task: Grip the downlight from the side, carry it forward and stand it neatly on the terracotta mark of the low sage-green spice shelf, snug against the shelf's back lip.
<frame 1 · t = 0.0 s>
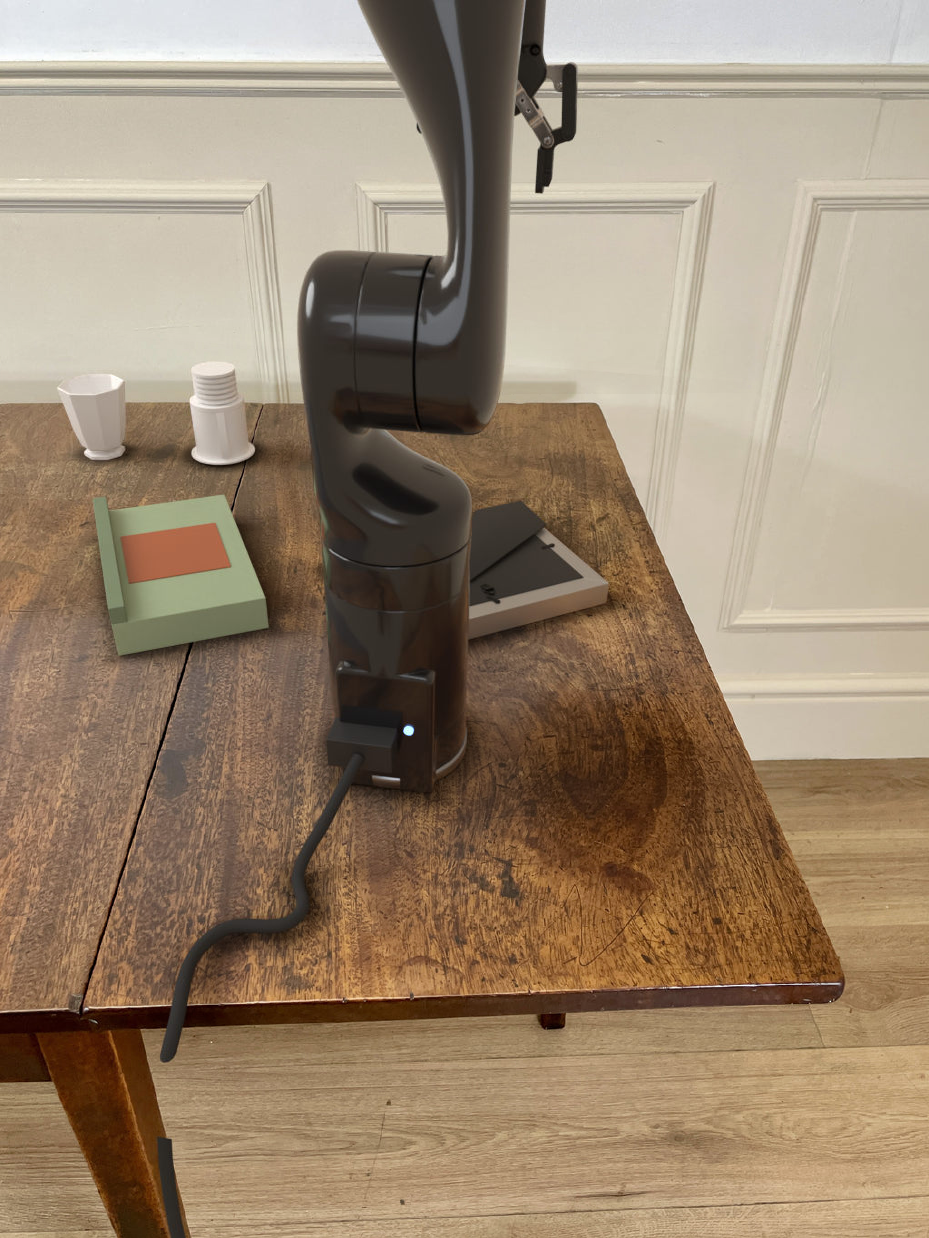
hand: (494, 189, 88), 29 cm above the table, tool pointing down, fingers open, 8 cm apart
spice shelf: (179, 581, 84), on the table
cup: (103, 449, 108), on the table
picture frame: (461, 587, 85), on the table
downlight: (224, 455, 107), on the table
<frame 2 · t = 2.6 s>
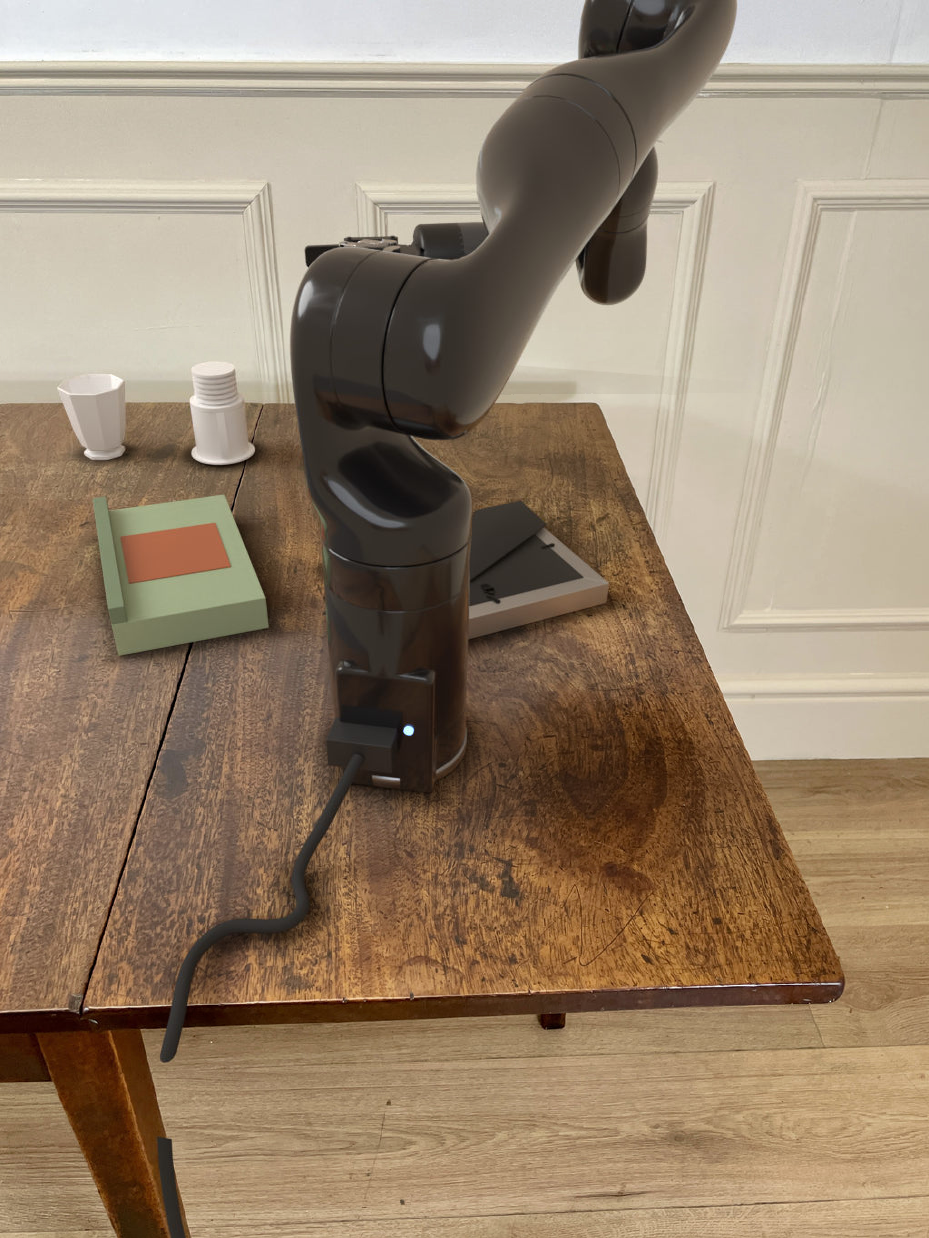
hand: (307, 267, 98), 20 cm above the table, tool horizontal, fingers open, 8 cm apart
nothing on the table moved.
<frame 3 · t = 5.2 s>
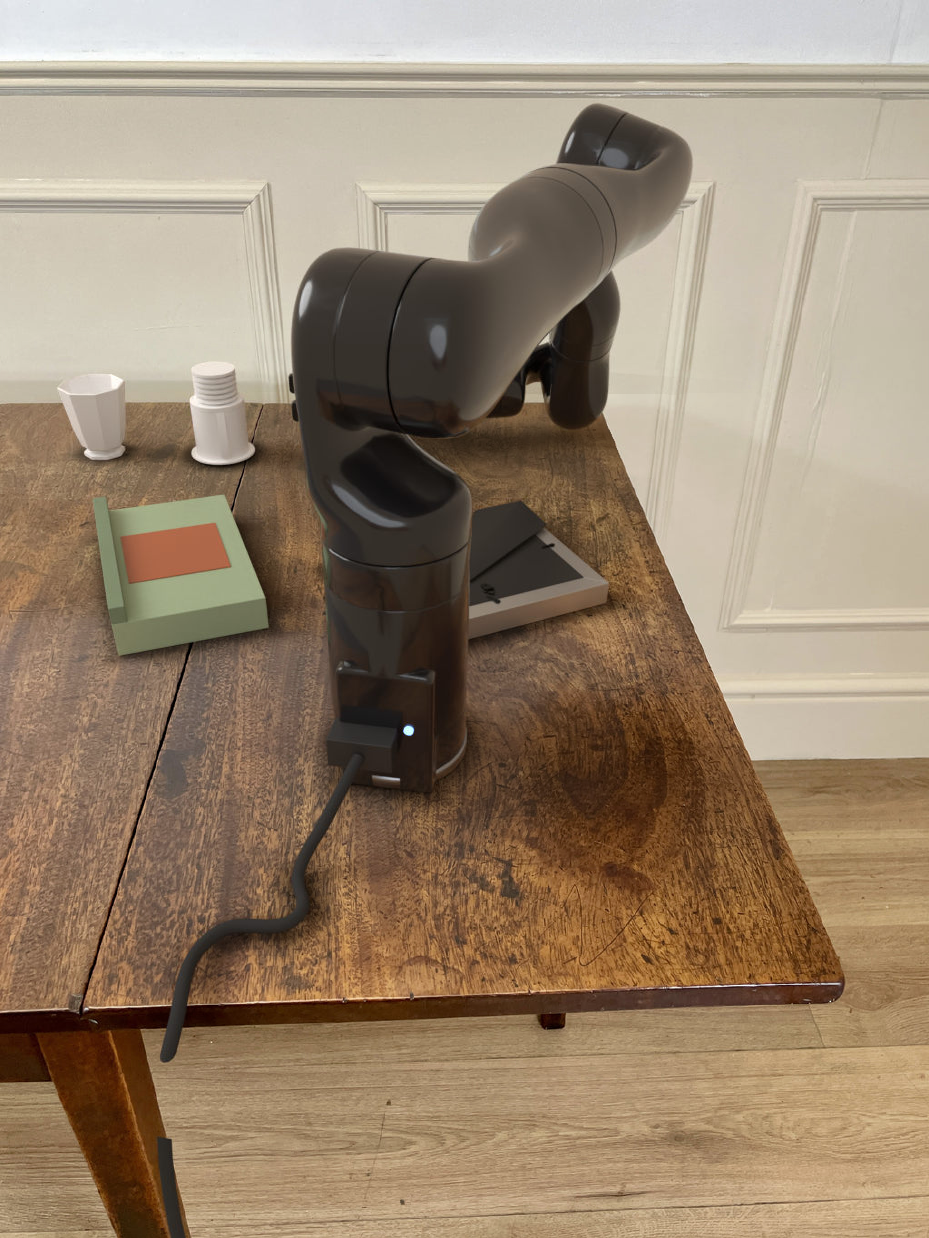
hand: (290, 397, 105), 6 cm above the table, tool horizontal, fingers open, 8 cm apart
nothing on the table moved.
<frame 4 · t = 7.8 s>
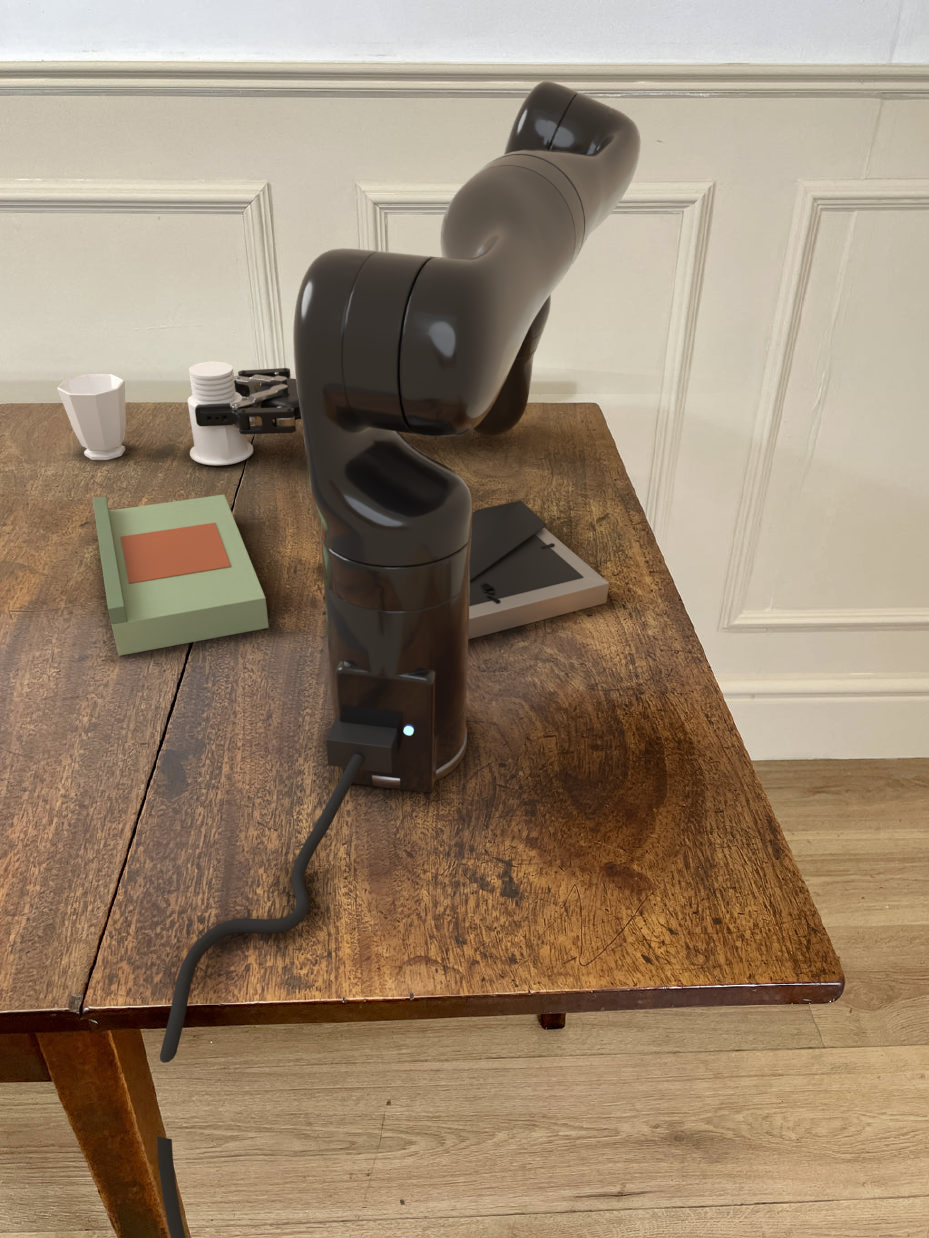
hand: (197, 403, 104), 6 cm above the table, tool horizontal, fingers closed on downlight, 7 cm apart
downlight: (222, 455, 107), on the table, touching gripper
everything else where it was.
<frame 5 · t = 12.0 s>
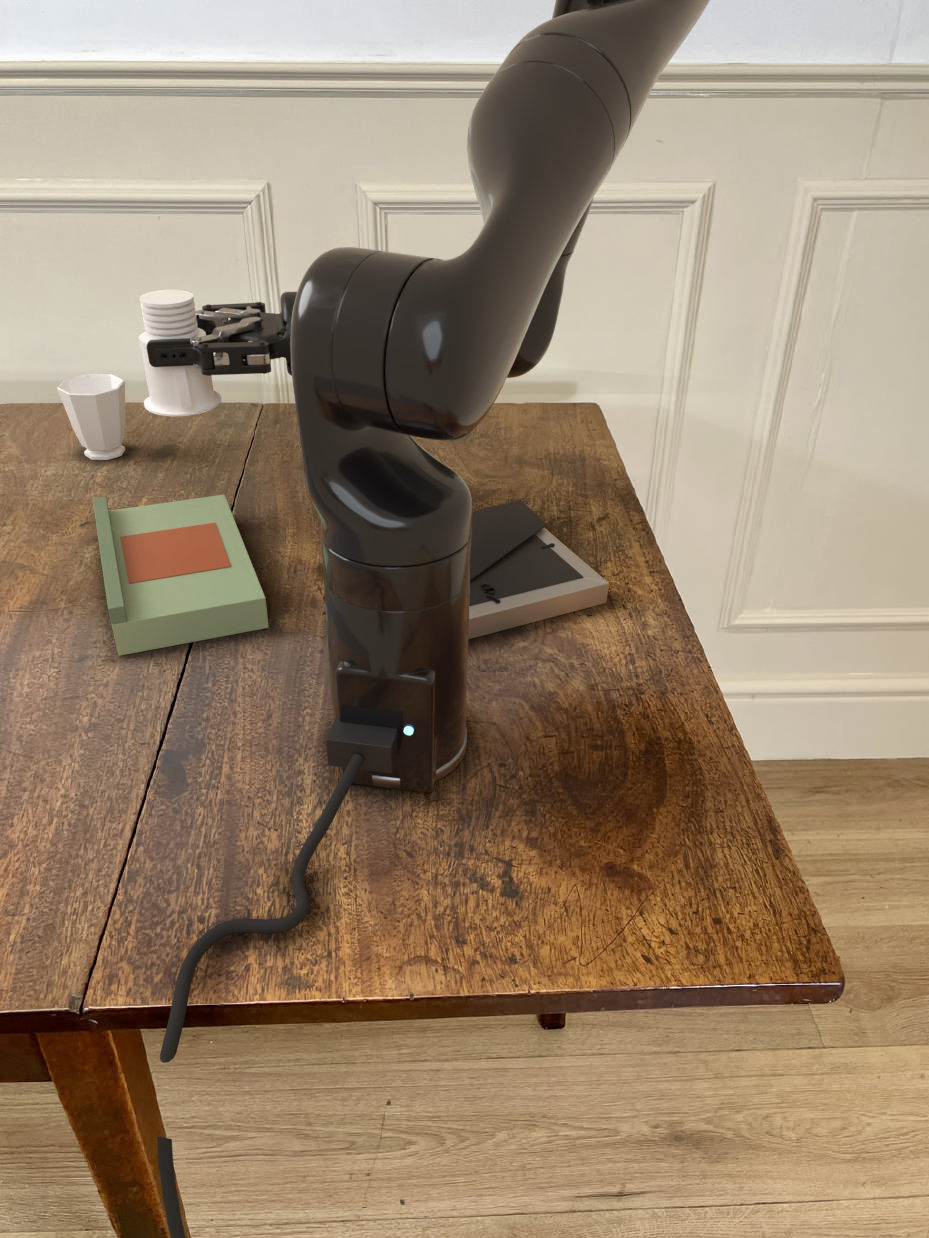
hand: (151, 340, 85), 18 cm above the table, tool horizontal, fingers closed on downlight, 7 cm apart
downlight: (183, 407, 89), point 11 cm above the table, touching gripper
everything else where it was.
when the fingers open (9 cm above the table, at t = 16.6 s): downlight stays where it is, resting on spice shelf.
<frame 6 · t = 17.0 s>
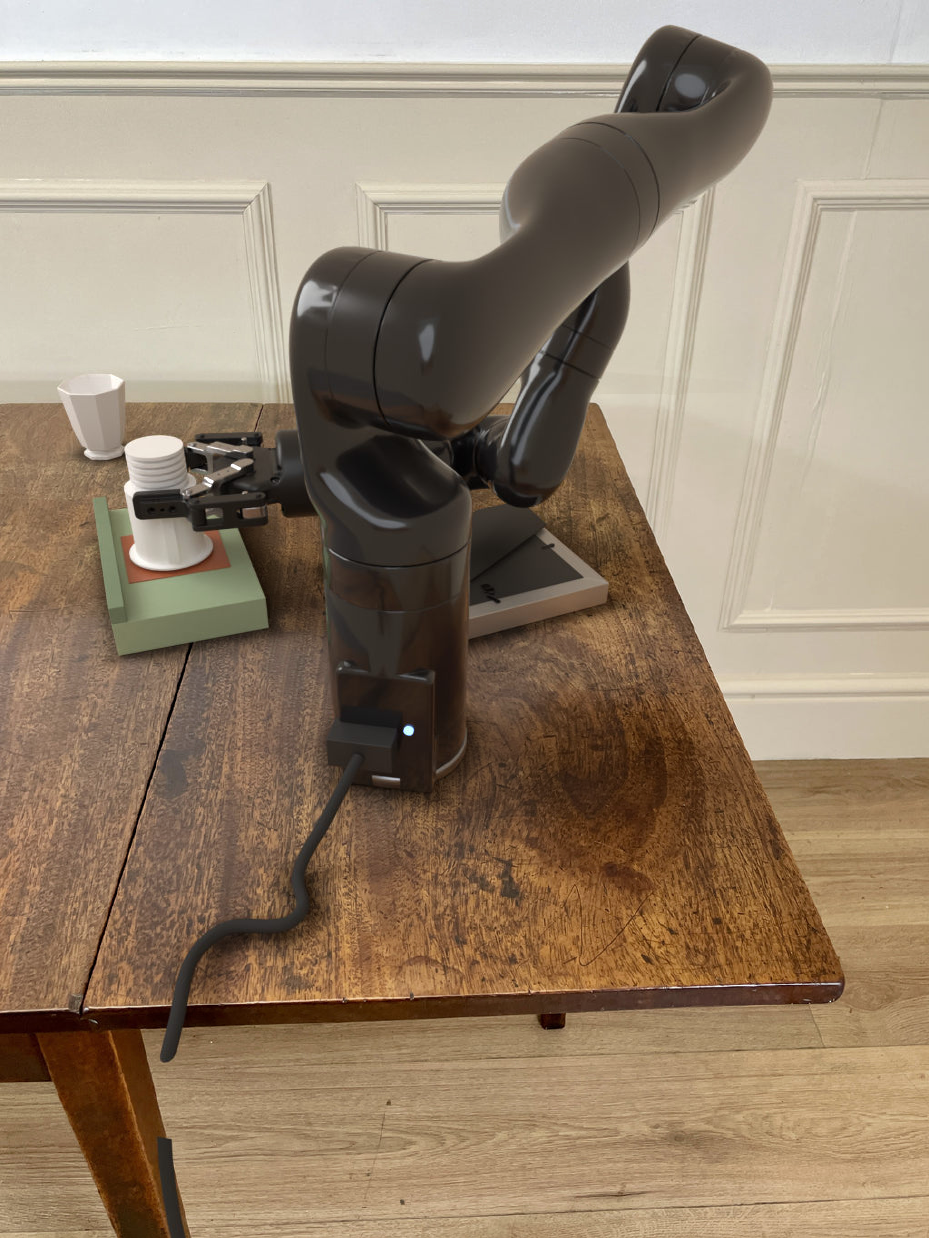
hand: (138, 483, 79), 10 cm above the table, tool horizontal, fingers open, 8 cm apart
downlight: (172, 555, 82), point 3 cm above the table, touching spice shelf
everything else where it was.
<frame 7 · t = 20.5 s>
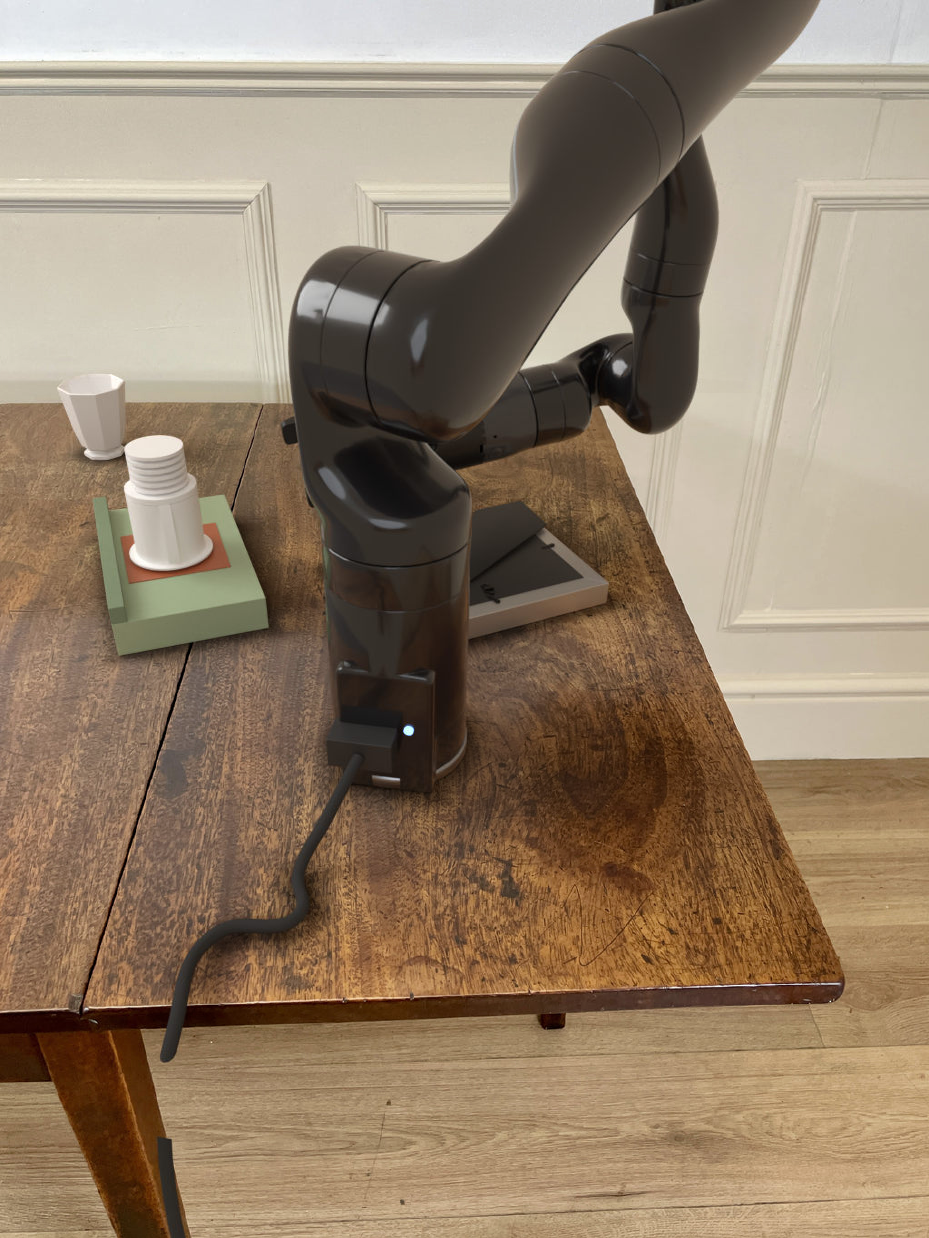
hand: (294, 464, 79), 11 cm above the table, tool horizontal, fingers open, 8 cm apart
nothing on the table moved.
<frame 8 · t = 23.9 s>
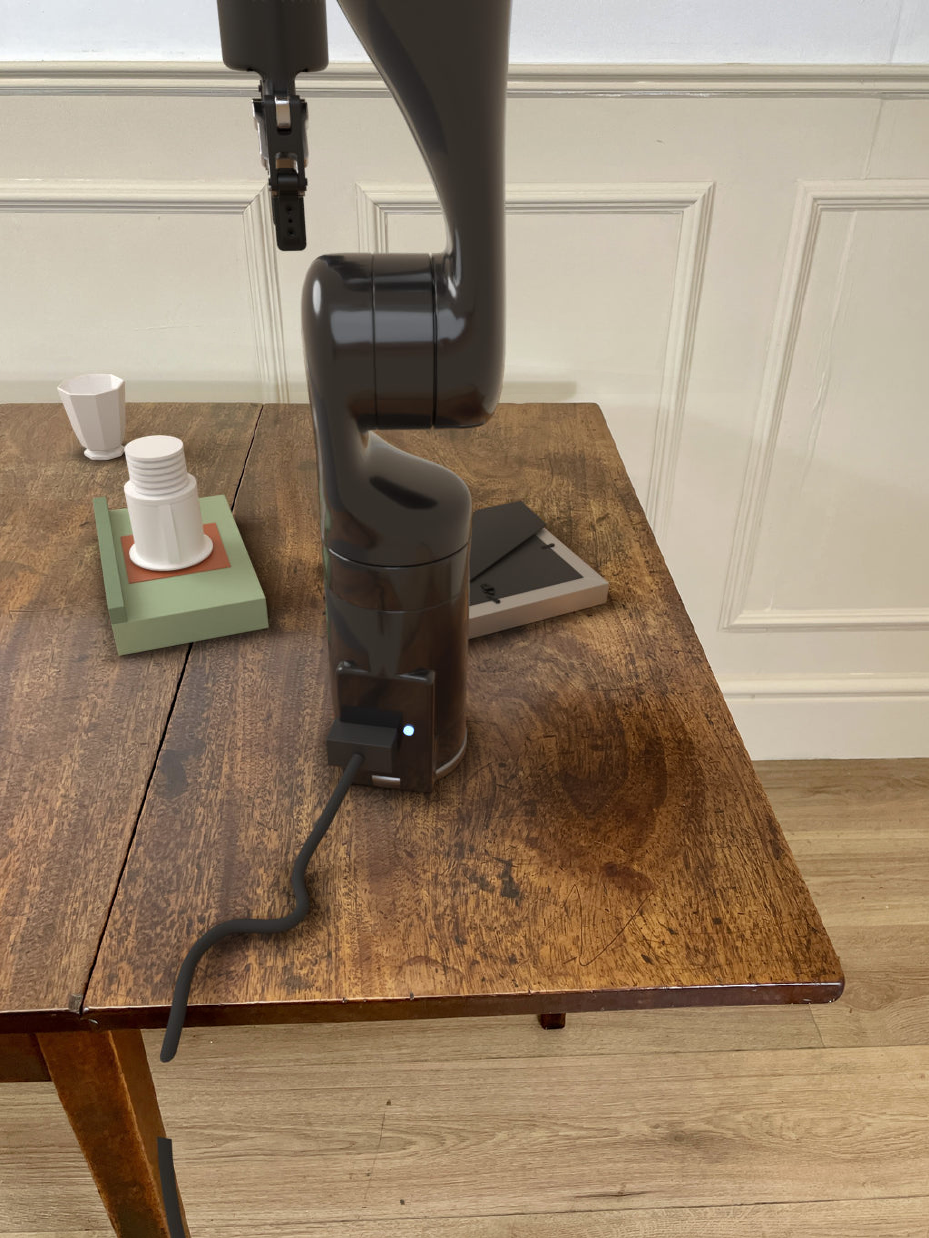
hand: (289, 237, 74), 28 cm above the table, tool pointing down, fingers open, 8 cm apart
nothing on the table moved.
at the end: downlight 0.4 cm off-centre on the spice shelf, point 2.9 cm above the spice shelf's base; downlight tilted 0°; the gripper is holding nothing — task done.
